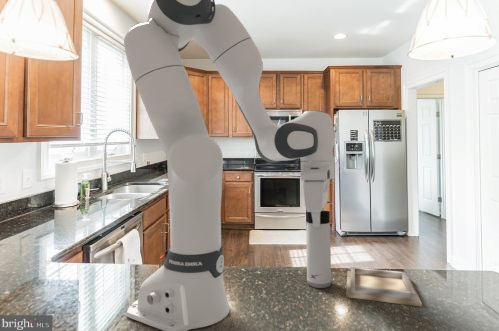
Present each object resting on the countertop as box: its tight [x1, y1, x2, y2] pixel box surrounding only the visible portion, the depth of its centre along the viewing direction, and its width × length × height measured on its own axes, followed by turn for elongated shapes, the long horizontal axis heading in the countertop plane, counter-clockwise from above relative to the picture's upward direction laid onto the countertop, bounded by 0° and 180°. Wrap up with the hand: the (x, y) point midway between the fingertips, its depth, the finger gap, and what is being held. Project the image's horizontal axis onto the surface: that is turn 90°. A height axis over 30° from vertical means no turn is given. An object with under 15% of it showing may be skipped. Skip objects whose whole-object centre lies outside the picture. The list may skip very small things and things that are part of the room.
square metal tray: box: [345, 266, 423, 308], centre depth 76 cm, size 16×16×2 cm
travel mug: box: [305, 210, 332, 289], centre depth 79 cm, size 6×7×20 cm
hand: (318, 223), depth 79 cm, fingers closed on travel mug, 6 cm apart
